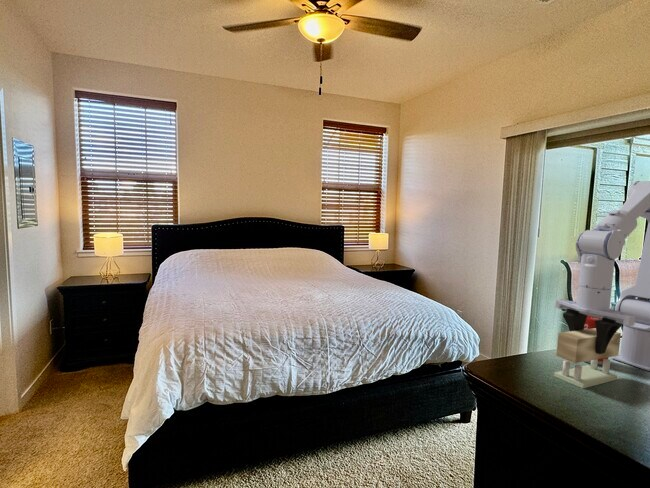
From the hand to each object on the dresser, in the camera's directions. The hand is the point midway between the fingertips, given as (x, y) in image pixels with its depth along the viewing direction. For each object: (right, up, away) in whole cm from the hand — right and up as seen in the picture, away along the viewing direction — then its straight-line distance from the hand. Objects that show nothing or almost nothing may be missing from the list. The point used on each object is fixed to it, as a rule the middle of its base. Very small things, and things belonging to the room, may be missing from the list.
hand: (588, 349), depth 78 cm
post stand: (0, -6, +1) cm, 6 cm away
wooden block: (0, -2, 0) cm, 2 cm away
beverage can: (+8, -6, +10) cm, 15 cm away
